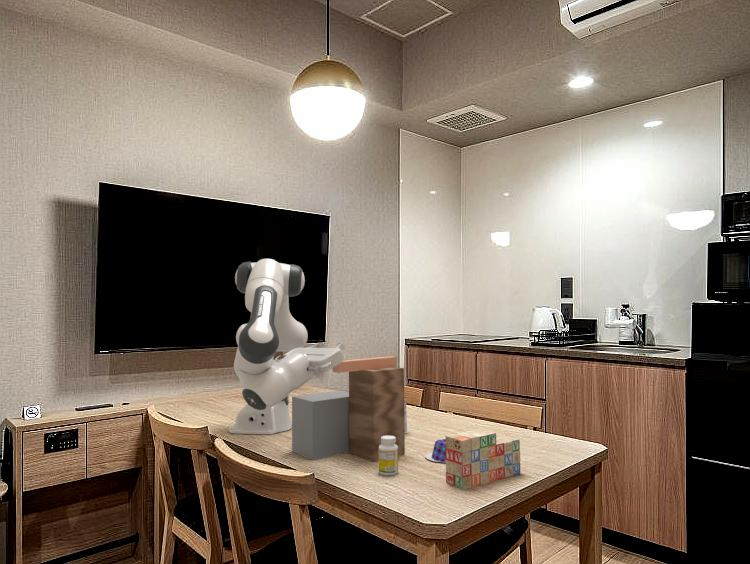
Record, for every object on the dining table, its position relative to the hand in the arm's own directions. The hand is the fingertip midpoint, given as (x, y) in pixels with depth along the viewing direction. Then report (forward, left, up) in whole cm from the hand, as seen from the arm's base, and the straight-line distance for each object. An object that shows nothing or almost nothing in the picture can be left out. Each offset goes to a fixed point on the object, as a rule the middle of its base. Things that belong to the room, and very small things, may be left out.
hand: (331, 345), depth 163 cm
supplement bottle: (+15, -9, -34) cm, 39 cm away
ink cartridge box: (+21, +33, -34) cm, 52 cm away
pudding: (+33, +4, -34) cm, 48 cm away
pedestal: (-2, +15, -34) cm, 37 cm away
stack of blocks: (+40, -16, -34) cm, 55 cm away
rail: (+10, +7, -8) cm, 15 cm away
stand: (+13, +10, -34) cm, 38 cm away
